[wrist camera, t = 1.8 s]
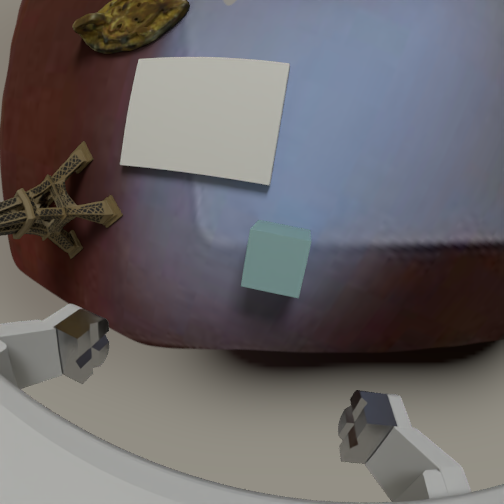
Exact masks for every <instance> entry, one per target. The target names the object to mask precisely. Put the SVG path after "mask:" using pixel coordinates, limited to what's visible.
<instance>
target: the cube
mask: <svg viewBox="0 0 504 504" xmlns="http://www.w3.org/2000/svg"><path fill="white" fill-rule="evenodd" d="M310 245H311V233H310V230H307V229H302V228H298V227H293V226H288V225H282V224H277V223H272V222H267V221H262V220H258V221H257V222H256V224H255V225H254V226H253V227H252V228H251V229H250V233H249V239H248V245H247V251H246V258H245V264H244V270H243V276H242V282H241V286H243V287H247V288H252V289H256V290H261V291H266V292H271V293H275V294H280V295H285V296H290V297H295V298H299V294H300V290H301V285H302V281H303V277H304V272H305V268H306V264H307V259H308V255H309V250H310Z"/></svg>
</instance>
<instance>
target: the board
mask: <svg viewBox="0 0 504 504" xmlns="http://www.w3.org/2000/svg"><path fill="white" fill-rule="evenodd" d="M289 70H290V64H288V63H280V62H272V61H262V60H252V59H238V58H218V57H167V58H148V59H139V61H138V65H137V69H136V74H135V78H134V83H133V88H132V92H131V98H130V103H129V108H128V114H127V120H126V126H125V132H124V139H123V146H122V153H121V161H120V165H126V166H136V167H146V168H155V169H163V170H171V171H179V172H187V173H194V174H202V175H208V176H215V177H222V178H228V179H235V180H241V181H247V182H253V183H259V184H264V185H270V183H271V177H272V171H273V165H274V159H275V154H276V148H277V142H278V136H279V130H280V124H281V118H282V112H283V106H284V100H285V94H286V88H287V82H288V76H289Z"/></svg>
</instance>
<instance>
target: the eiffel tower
mask: <svg viewBox="0 0 504 504" xmlns="http://www.w3.org/2000/svg"><path fill="white" fill-rule="evenodd" d="M92 160H93V157H92V155H91V153H90V151H89V149H88V147H87V145H86V143H85V141H83V142H82V143H81V144H80V145H79V146H78V147H77V148H76V149H75V150H74V151H73V153H72V154H71V155H70V157H69V158H68V160H67V161H66V162H65V163H64V164H63V165H62V166H61V167H60V168H59V169H58V170H57V171H56V172H55V174H54V175H53V176H52V177H51V176H49V175H47V176H46V178H45V179H44V181H43V182H42V183H41V184H40V185H38V186H36V187H34V188H33V189H31V190H29V191H27V192H25V191H24V189H23V188H22V189H20V190H18V191H17V192H16V194H15V196H14V198H11V199H9V200H6V201H3V202H0V236H1V235H7V234H13V238H14V239H20V238H21V237H22V236H23V235H24V234H36V235H39V236H42V240H43V241H44V240H45V239H46V238H47V237H48V238H49V239H50V240H51V241H52V242H53V243H55V244H56V245H57V246H58V247H60V248H61V249H62V250H63V251H65V252H67V253H68V254H69V256H70V258H71V259H72V258H73V257H74V256H75V255H76V254H77V253H79V252H80V251H81V250H82V249H83V247H82V245H81V243H80V241H79V239H78V238H77V236H76V234H75V232H74V230H71V231H70V232H69V233H68V232H67V231H65V230H64V229H63V226H65V225H66V224H67V223H68V222H69V221H71V220H72V219H74V218H75V217H79V218H83V219H86V220H90V221H93V222H97V223H100V224H103V225H105V226H106V228H108V227H109V226H110V225H112V224H113V223H114V222H115V221H116V220H118V219H119V218H120V217H121V216H123V215H122V213H121V211H120V209H119V207H118V206H117V204H116V202H115V200H114V198H113V196H112V195H110V196H109V197H107V198H105V199H104V200H103V201H99V202H94V203H89V204H84V205H78V206H77V205H76V204H75V203H74V202H73V200H72V199H71V198H70V197H69V195H68V194H67V192H66V187H65V181H66V180H67V179H68V178H69V177H70V176H71V175H72V174H73V173H74V172H75V171H76V173H80V172H81V171H82V170H83V169H84V168H85V167H86V166H87V165H88V164H89V163H90V162H91V161H92ZM53 201H55V204H56V206H57V208H48V206H49V205H50V204H51V203H52V202H53ZM35 222H36V223H35Z"/></svg>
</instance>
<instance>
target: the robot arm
mask: <svg viewBox="0 0 504 504" xmlns="http://www.w3.org/2000/svg"><path fill="white" fill-rule="evenodd" d="M108 331H109V323H108V321H107V320H106V319H105V318H103V317H101V316H98V315H96V314H94V313H92V312H90V311H87V310H85V309H83V308H81V307H79V306H76V305H74V304H68V305H66V306H65V307H63V308H62V309H60V310H58V311H57V312H55V313H54V314H52V315H51V316H49V317H47V318H46V319H44V320H43V321H41V320H30V321H21V322H11V323H2V324H0V504H504V484H502V485H499V486H495V487H491V488H487V489H483V490H479V491H474V492H471V489H470V486H469V484H468V481H467V478H466V476H465V473H464V471H463V468H462V466H461V465H460V464H458V463H457V462H456V461H455V460H454V459H452V458H451V457H450V456H449V455H447V454H446V453H445V452H444V451H443V450H442V449H440V448H439V447H438V446H437V445H435V444H434V443H433V442H432V441H431V440H430V439H428V438H427V437H426V436H425V435H424V434H422V433H421V432H420V431H419V430H418V429H417V428H412V426H411V423H410V420H409V418H408V415H407V412H406V410H405V407H404V404H403V401H402V399H401V397H400V396H399V395H395V394H381V393H373V392H366V391H360V390H356V391H355V392H354V393H353V396H352V397H351V399H350V401H351V406H349V407H347V408H346V409H345V410H344V411H343V413H342V415H341V418H340V421H339V426H338V435H339V437H340V438H341V439H342V440H343V441H342V443H341V444H340V457H341V461H343V462H351V463H362V464H365V466H366V467H367V468H368V470H369V471H370V473H371V474H372V475H373V477H374V478H375V479H376V481H377V482H378V483H379V485H380V486H381V488H382V489H383V490H384V492H385V493H386V494H387V496H388V497H389V498H390V500H391V501H392V502H382V503H351V502H331V501H317V500H307V499H298V498H290V497H283V496H277V495H271V494H265V493H259V492H255V491H250V490H245V489H240V488H236V487H232V486H227V485H224V484H220V483H216V482H212V481H209V480H205V479H202V478H199V477H195V476H192V475H189V474H186V473H183V472H180V471H177V470H174V469H171V468H168V467H166V466H163V465H160V464H157V463H155V462H152V461H149V460H147V459H145V458H142V457H140V456H138V455H135V454H133V453H131V452H128V451H126V450H124V449H121V448H120V447H117V446H115V445H113V444H111V443H109V442H107V441H105V440H103V439H101V438H99V437H97V436H95V435H93V434H91V433H89V432H87V431H86V430H83V429H82V428H80V427H78V426H77V425H75V424H73V423H71V422H70V421H68V420H66V419H64V418H63V417H61V416H60V415H58V414H56V413H54V412H53V411H51V410H50V409H48V408H47V407H45V406H44V405H42V404H41V403H39V402H38V401H36V400H35V399H33V398H32V397H30V396H29V395H28V394H26V393H25V392H23V391H22V390H21V389H22V388H25V387H28V386H31V385H34V384H37V383H40V382H43V381H46V380H49V379H52V378H55V377H58V376H61V375H62V374H64V375H65V376H67V377H69V378H71V379H73V380H75V381H77V382H79V383H81V384H83V383H84V382H85V381H86V380H87V379H88V378H89V377H90V376H91V375H92V374H93V368H94V367H99V366H100V365H102V363H103V362H104V361H105V359H106V357H107V355H108V351H109V341H108V339H107V338H106V335H105V334H106V333H107V332H108Z"/></svg>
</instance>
